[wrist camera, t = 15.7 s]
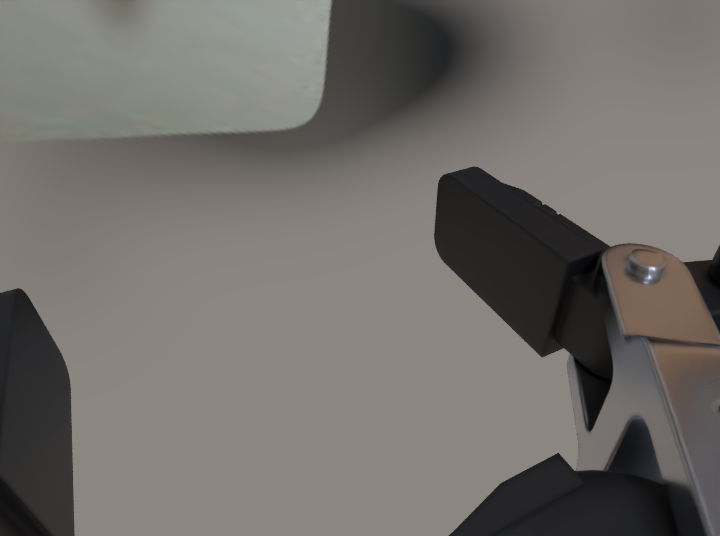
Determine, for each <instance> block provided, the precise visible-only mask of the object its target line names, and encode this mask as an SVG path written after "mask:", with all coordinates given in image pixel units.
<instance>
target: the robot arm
mask: <svg viewBox="0 0 720 536" xmlns="http://www.w3.org/2000/svg"><path fill="white" fill-rule="evenodd" d="M434 238H435V245H436V248H437V251H438V253H439V256H440V257H441V259H442V260H443V261H444V263H446V265H448V266H449V267H450V268H451V269H452V270H453V271H454V272H455V273H456V274H457V275H458V276H459V277H460V278H461V279H462V280H463V281H464V282H465V283H466V284H467V285H468V286H469V287H470V288H471V289H472V290H473V291H474V292H475V293H476V294H477V295H478V296H479V297H480V298H481V299H482V300H484V302H486V304H488V305H489V306H490V307H491V308H492V309H493V310H494V311H495V312H496V313H497V314H498V315H499V316H500V317H501V318H502V319H503V320H504V321H505V322H506V323H507V324H508V325H509V326H510V327H511V328H512V329H513V330H514V331H515V332H516V333H517V334H518V335H519V336H520V337H522V339H524V341H526V342H527V343H528V344H529V345H530V346H531V347H532V348H533V349H534V350H535V351H536V352H537V353H538V354H539V355H540V356H541V357H544V356H547V355H549V354H551V353H554V352H556V351H558V350H560V349H563V348H565V349H566V350H567V351H568V352H569V353H570V355H569V358H568V361H567V371H568V378H569V384H570V391H571V398H572V405H573V411H574V418H575V425H576V431H577V438H578V462H577V468H576V471H574V470H573V469H572V468H571V467H570V465H569V464H568V463H567V462H566V461H565V460H564V459H563V457H562V456H561V455H560V454H559V453H557V454H555V455H554V456H552V457H550V458H548V459H546V460H544V461H542V462H540V463H538V464H536V465H534V466H533V467H531V468H529V469H527V470H525V471H523V472H521V473H519V474H517V475H516V476H514V477H512V478H510V479H508V480H506V481H504V482H502V483H501V484H500V485H499V486H498V487H497V488H496V489H495V490H494V491H493V492H492V493H491V494H490V495H489V496H488V497H487V498H486V499H485V500H484V501H483V502H482V503H481V504H480V505H479V506H478V507H477V508H476V509H475V510H474V511H473V512H472V513H471V514H470V515H469V516H468V517H467V518H466V519H465V520H464V521H463V522H462V523H461V524H460V525H459V526H458V528H456V530H454V532H452V533H451V534H450V535H449V536H720V245H719V248H718V250H717V251H716V253H715V255H714V257H713V260H706V261H694V262H682V261H680V260H679V259H678V258H677V257H675V256H673V255H672V254H670V253H668V252H666V251H663V250H661V249H659V248H655V247H652V246H647V245H643V244H631V243H627V244H619V245H615V246H612V247H610V246H609V245H607V244H605V243H604V242H602V241H601V240H599V239H598V238H596V237H595V236H593V235H591V234H590V233H588V232H587V231H586V230H584V229H582V228H581V227H579V226H578V225H576V224H575V223H573V222H572V221H570V220H568V219H567V218H566V217H564V216H562V215H561V214H559V215H557V213H556V211H555V210H553V209H552V208H550V207H549V206H547V205H542V202H541V201H539V200H538V199H536V198H535V197H533V196H532V195H530V194H528V193H527V192H526V191H524V190H521V189H519V188H516V187H513V186H510V185H507V184H504V183H501V182H500V181H499V180H497V179H496V178H494V177H493V176H491V175H490V174H488V173H486V172H485V171H484V170H482V169H480V168H479V167H470V168H467V169H463V170H459V171H456V172H452V173H448V174H445V175H443V176H442V177H441V178H440V180H439V183H438V193H437V207H436V220H435V233H434ZM73 502H74V501H73V464H72V425H71V388H70V379H69V374H68V370H67V367H66V364H65V361H64V359H63V356H62V354H61V353H60V350H59V349H58V347H57V345H56V344H55V342H54V340H53V338H52V337H51V335H50V333H49V331H48V330H47V328H46V326H45V325H44V323H43V321H42V320H41V318H40V316H39V314H38V312H37V311H36V309H35V307H34V306H33V304H32V302H31V300H30V299H29V297H28V296H27V295H26V293H25V292H24V291H23V290H22V289H19V288H17V289H13V290H10V291H6V292H3V293H0V536H74V503H73Z"/></svg>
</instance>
